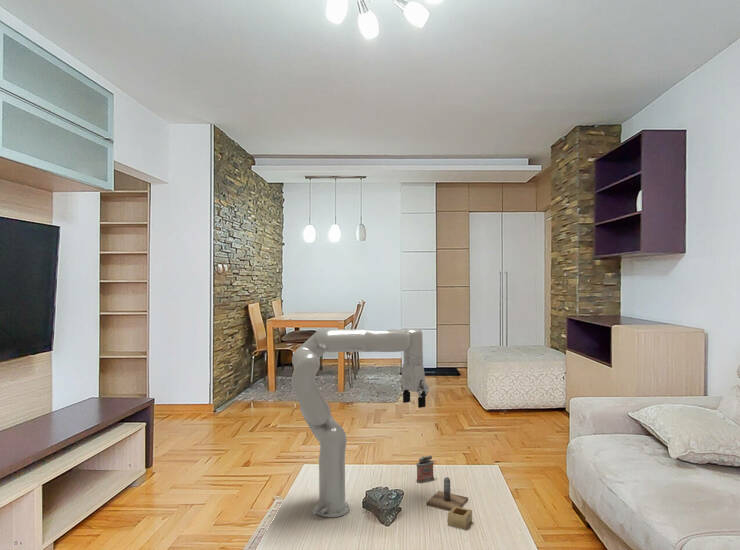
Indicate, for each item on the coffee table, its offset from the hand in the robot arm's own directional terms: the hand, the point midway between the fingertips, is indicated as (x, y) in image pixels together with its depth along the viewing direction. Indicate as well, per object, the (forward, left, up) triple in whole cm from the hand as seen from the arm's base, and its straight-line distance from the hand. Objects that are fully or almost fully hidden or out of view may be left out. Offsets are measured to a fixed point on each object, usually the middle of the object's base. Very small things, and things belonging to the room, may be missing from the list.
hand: (414, 404), depth 194 cm
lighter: (+16, +3, -36) cm, 39 cm away
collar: (-12, -23, -36) cm, 44 cm away
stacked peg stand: (+1, -13, -36) cm, 38 cm away
